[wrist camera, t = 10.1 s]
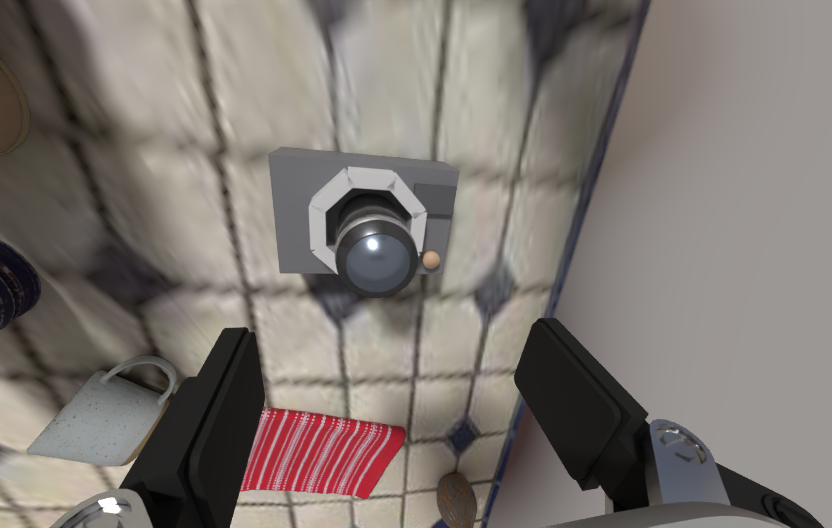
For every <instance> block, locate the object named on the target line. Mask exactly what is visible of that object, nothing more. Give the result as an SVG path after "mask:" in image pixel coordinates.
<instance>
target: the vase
mask: <svg viewBox="0 0 832 528" xmlns="http://www.w3.org/2000/svg"><path fill="white" fill-rule="evenodd" d="M437 504H438V509H439V512H440V514H441V516H442V518H443V520H444V522H445V523H446V524H447V525H448V526H449V527H450V528H473V526H474V522H475V518H476V513H477V503H476V497H475V494H474V491H473V489H472V487H471V485H470V483H469V482H468V480H467V479H466V478H465V477H463V476H462V475H460V474H458V473H451V474H448V475H446V476H444V477H443V478H442V479H441V481H440V483H439V485H438V488H437Z"/></svg>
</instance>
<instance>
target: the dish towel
mask: <svg viewBox="0 0 832 528" xmlns="http://www.w3.org/2000/svg"><path fill="white" fill-rule="evenodd" d="M405 436H406V432H405V430H404V428H403V427H396V426H390V425H385V424H379V423H375V422H366V421H360V420H354V419H347V418H343V417H335V416H328V415H323V414H316V413H310V412H304V411H294V410H288V409H277V408H269V407H263V411H262V414H261V418H260V421H259V425H258V429H257V432H256V436H255V439H254V443H253V446H252V450H251V453H250V457H249V460H248V464H247V467H246V471H245V475H244V478H243V482H242V485H241V489H240V491H249V490H272V491H298V492H307V493H321V494H328V493H336V494H339V495H351V496H357V497H360V498H364V499H367V498H368V497H369V494H370V493H371V492H372V490H373V489H374V487H375V486H376V484H377V482H378V481H379V479H380V477H381V476H382V474H383V472H384V470H385V469H386V467H387V466H388V464H389V463H390V461H391V460H392V459H393V457H394V456H395V455H396V453H397V452H398V451H399V449H400V448H401V446H402V444H403V442H404V439H405Z"/></svg>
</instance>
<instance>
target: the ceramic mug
mask: <svg viewBox="0 0 832 528" xmlns="http://www.w3.org/2000/svg"><path fill="white" fill-rule="evenodd" d="M141 364H154V365H157V366H159V367H160V368H161V369H162V370H163V372H164V373H166V374H167V375H168V378H169V379H170V384H169V387H168V389H167V391H166V392H165V393H164V394H163V395H161V394H159V393H157V392H154V391H152V390H149V389H146V388H144V387H141V386H139V385H137V384H135V383H132V382H130V381H128V380H125V379H123V378H120V377H118V376H115V374H117V373H118V372H120V371H122V370H124V369H125V368H128V367H132V366H135V365H141ZM175 382H176V371H175V369H174V367H173V366H172V364H170V363H169V362H168V361H166V360H164V359H162V358H160V357H157V356H150V355H145V356H138V357H134V358H131V359H129V360H126V361H124V362H123V363H121V364H119V365H118V366H116V367H115V368H113V369H112V370H111V371H110V372H109V373H108V372H105V371H103V370H98V371H96V372H95V373H94V375H92V376H91V377H90V379H89V380H88V381H87V382H86V383H85V384H84V385H83V386H82V387H81V389H80V390H79V391H78V392H77V393H76V394H75V395H74V396H73V397H72V399H71V400H70V401H69V402H68V403H67V404H66V405H65V406H64V407H63V409H62V410H61V411H60V412H59V413H58V414H57V415H56V417H55V418H54V419H53V420H52V421H51V422H50V424H49V425H48V426H47V427H46V428H45V429H44V431H43V432H42V433H41V434H40V435H39V436H38V437H37V439H36V440H35V441H34V442H33V443H32V444H31V445H30V447H29V448H28V449H27V450H26V452H27V453H29V454H34V455H40V456H47V457H53V458H59V459H65V460H71V461H78V462H84V463H89V464H94V465H99V466H124V465H127V464H129V463H130V462H131V461H133V460H134V459H135V458H136V457H137V456H138V455H139V454H140V452H141V450H142V449H143V447H144V445H145V444H146V442H147V440H148V439H149V437H150V435H151V434H152V432H153V430H154V429H155V427H156V425H157V424H158V422H159V420H160V419H161V417H162V415H163V414H164V412H165V410H166V409H167V407H168V405H169V400H168V399H167V398H168V397H169V395H170V393H171V392H172V390H173V388H174V385H175Z"/></svg>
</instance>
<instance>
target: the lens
mask: <svg viewBox="0 0 832 528" xmlns="http://www.w3.org/2000/svg"><path fill="white" fill-rule="evenodd" d="M335 264H336V268H337V273H338V275H339V277H340V279H341V281H342V282H343V284H344V285H345V286H346V287H347V288H348V289H350V290H351V291H352V292H354V293H356V294H358V295H361V296H364V297H369V298H382V297H387V296H390V295H393V294H395V293H397V292H399V291H400V290H402V289H403V288H404V287H406V286H407V285H408V284H409V282H410V281H411V280H412V278H413V277H414V275H415V273H416V270H417V266H418V252H417V248H416V244H415V241H414V239H413V237H412V235H411V233H410V232H409V230H408V229H407V228H406V227H405V225H404V223H403V222H402V220H401V218H400V216H399V214H398V212H397V210H396V209H395V207H394V205H393V204H392V203H391V202H390V201H389V200H388V199H387V198H385V197H383V196H381V195H378V194H375V193H363V194H359V195H356V196H354V197H352V198H351V199H349V200H348V201H347V202H346V203H345V204H344V206H343V207H342V209H341V211H340V214H339V219H338V235H337V242H336V246H335Z"/></svg>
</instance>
